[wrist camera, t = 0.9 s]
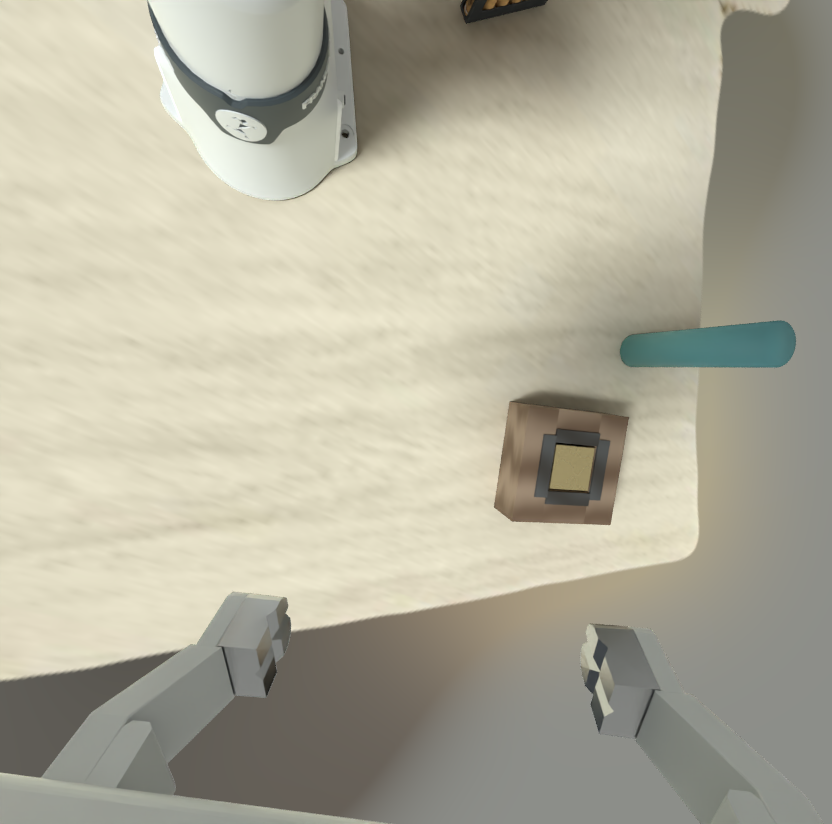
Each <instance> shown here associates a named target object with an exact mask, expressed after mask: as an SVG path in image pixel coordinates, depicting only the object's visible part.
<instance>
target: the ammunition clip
mask: <svg viewBox="0 0 832 824" xmlns="http://www.w3.org/2000/svg"><path fill="white" fill-rule="evenodd" d="M546 2H547V0H463V1H462V3H461V10H462V13H463V16H464V20H465V23H466V24H467V23H471V22H475V21H479V20H483V19H488V18H492V17H496V16H500V15H504V14H508V13H512V12H517V11H521V10H525V9H529V8H533V7H537V6H541V5H544V4H545V3H546Z"/></svg>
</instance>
